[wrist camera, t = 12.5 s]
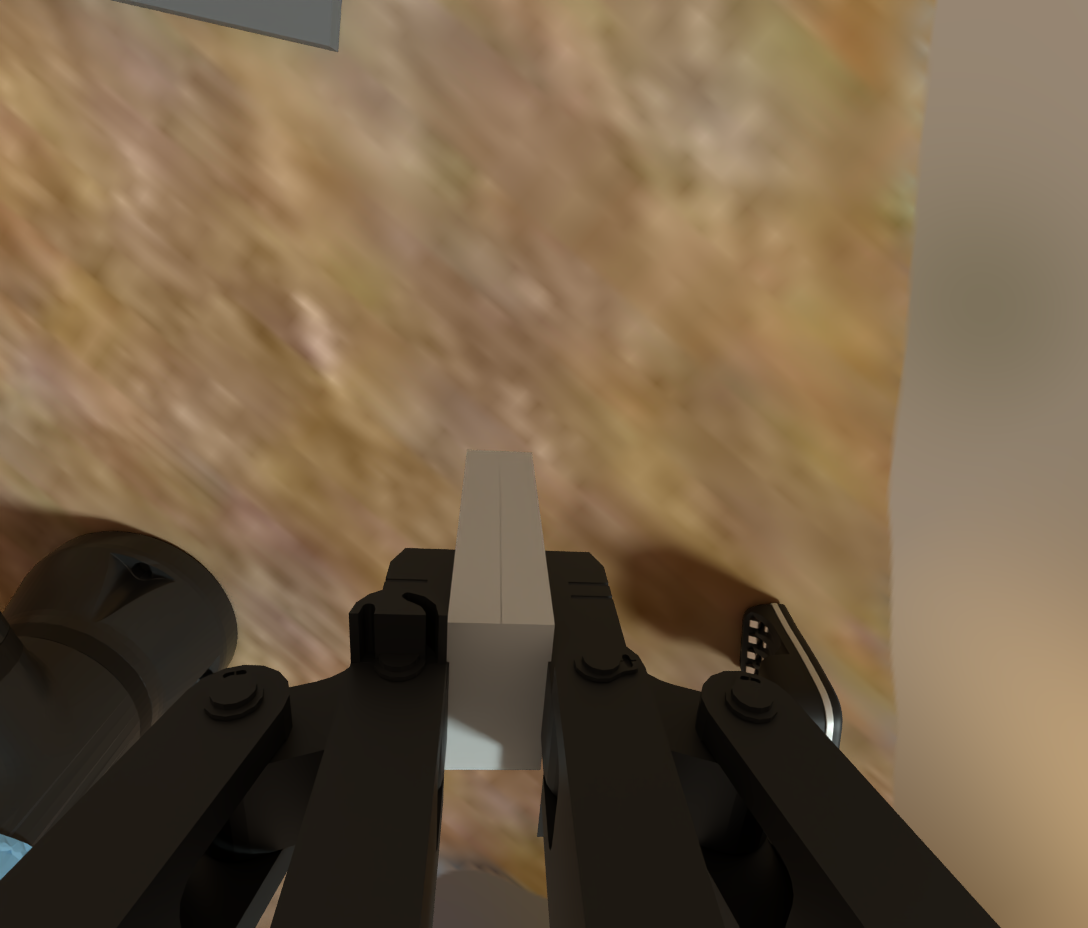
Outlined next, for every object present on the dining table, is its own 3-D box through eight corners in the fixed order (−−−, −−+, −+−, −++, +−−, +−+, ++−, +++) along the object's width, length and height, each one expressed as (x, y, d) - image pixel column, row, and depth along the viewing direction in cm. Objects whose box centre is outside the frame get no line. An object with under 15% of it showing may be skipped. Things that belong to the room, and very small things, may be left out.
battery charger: (733, 600, 49) (783, 710, 39) (784, 598, 49) (848, 708, 39) (728, 674, 52) (773, 797, 41) (776, 673, 52) (834, 795, 41)
